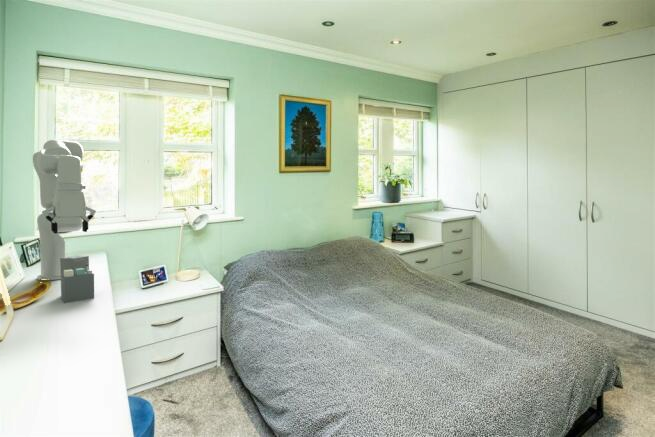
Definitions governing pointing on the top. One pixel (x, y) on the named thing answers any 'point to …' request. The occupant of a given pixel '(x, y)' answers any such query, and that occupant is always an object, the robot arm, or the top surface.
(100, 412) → the top surface
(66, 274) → the cream button
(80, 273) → the teal button
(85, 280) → the panel
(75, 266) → the skincare box
